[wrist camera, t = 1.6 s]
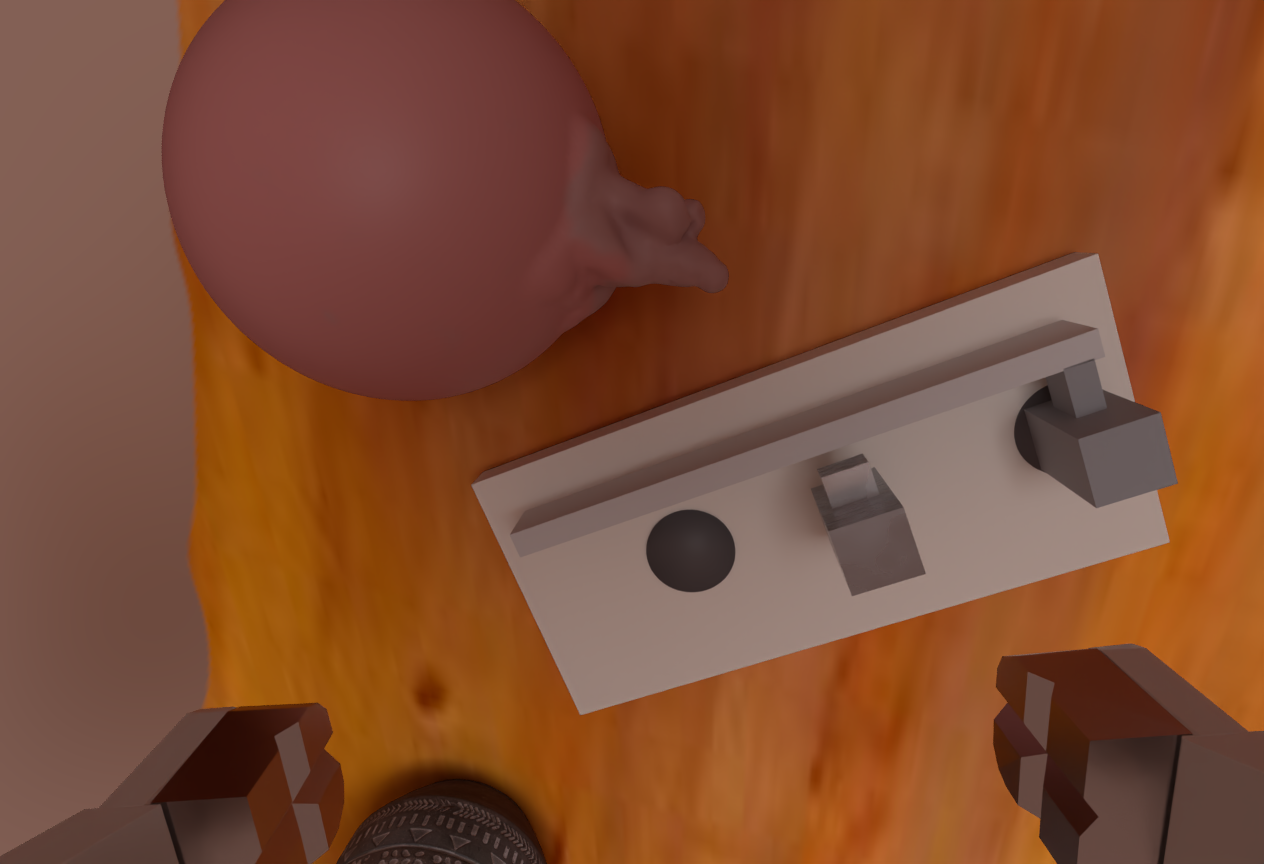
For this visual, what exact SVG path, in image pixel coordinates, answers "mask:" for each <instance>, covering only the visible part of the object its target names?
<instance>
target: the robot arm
mask: <svg viewBox="0 0 1264 864" xmlns="http://www.w3.org/2000/svg"><path fill="white" fill-rule="evenodd" d="M996 688H997V689H998V691H999V692H1000V693H1001V694H1002V696H1003V697H1004V698H1005V700H1006V701H1007V702H1008V703H1007V704H1006V705H1005V707H1004V708H1003V709H1002V710H1001V711H1000V713H999V714H998V715H997V716H996V718H995V719H994V734H993V745H994V750H995V755H996V759H997V764H998V768H999V771H1000V773H1001V776H1002V778H1003V780H1004V783H1005V785H1006V787H1007V789H1008V790H1009V792H1010V793H1011V795H1012V797H1013V798H1014V800H1015V801H1016V803H1017V804H1018V805H1019V806H1021V807H1022V808H1024V809H1025V810H1027V811H1029V812H1030V813H1032V814H1034V815H1035V816H1037V817H1039V818H1040V819H1041V820H1040V834H1039V837H1040V839H1041V840H1042V842H1043V843H1044V845H1045V846H1046V848H1047V849H1048V851H1049V852H1050V854H1051V855H1052V857H1053V858H1054V860H1055V861H1056V862H1057V864H1264V731H1254V732H1248V731H1247V730H1246V729H1245V728H1243V727H1242V726H1241V725H1240V724H1239V723H1237V722H1236V721H1235V720H1234V719H1232V718H1231V717H1230V716H1229V715H1227V714H1226V713H1225V712H1224V711H1223V710H1221V709H1220V708H1219V707H1218V706H1216V705H1215V704H1214V703H1213V702H1211V701H1210V700H1209V699H1208V698H1207V697H1205V696H1204V695H1203V694H1202V693H1200V692H1199V691H1198V690H1197V689H1195V688H1194V687H1193V686H1192V685H1190V684H1189V683H1188V682H1187V681H1186V680H1184V679H1183V678H1182V677H1181V676H1179V675H1178V674H1177V673H1176V672H1174V671H1173V670H1172V669H1171V668H1170V667H1168V666H1167V665H1166V664H1165V663H1163V662H1162V661H1161V660H1160V659H1158V658H1157V657H1156V656H1155V655H1154V654H1152V653H1151V652H1150V651H1149V650H1147V649H1146V648H1144V647H1141V646H1138V645H1135V644H1123V645H1114V646H1104V647H1094V648H1088V649H1082V650H1071V651H1059V652H1047V653H1036V654H1024V655H1012V656H1002V658H1001V661H1000V663H999V665H998V668H997V678H996ZM332 733H333V731H332V727H331V723H330V720H329V716H328V712H327V709H326V708H324V707H323V706H321V705H320V704H319V703H303V704H282V705H261V706H240V707H237V708H236V707H222V708H209V709H199V710H196V711H193V712H190V713H187V714H186V715H185V716H184V717H183V718H182V719H181V721H179V722H178V724H177V725H176V726H175V727H174V728H173V729H172V730H171V731H170V732H169V733H168V734H167V735H166V736H165V738H164V739H163V740H162V741H161V742H160V743H159V744H158V745H157V746H156V747H155V748H154V749H153V750H152V751H151V752H150V754H149V755H148V756H147V757H146V758H145V759H144V760H143V761H142V762H141V763H140V764H139V765H138V766H137V767H136V768H135V770H134V771H133V772H132V773H131V774H130V775H129V776H128V777H127V778H126V779H125V780H124V781H123V782H122V783H121V785H120V786H119V787H118V788H117V789H116V790H115V791H114V792H113V793H112V794H111V795H110V796H109V797H108V799H107V800H106V801H105V802H104V803H103V804H102V805H101V806H100V807H99V808H94V809H84V810H82V811H80V812H79V813H77V814H75V815H73V816H71V817H70V818H68V819H66V820H64V821H62V822H61V823H59V824H57V825H55V826H53V827H52V828H50V829H48V830H46V831H45V832H43V833H41V834H39V835H37V836H36V837H34V838H32V839H30V840H29V841H27V842H25V843H23V844H21V845H19V846H18V847H16V848H14V849H12V850H11V851H9V852H7V853H5V854H3V855H2V856H0V864H311V863H313V862H314V861H315V860H316V859H318V858H319V857H320V856H321V855H323V854H324V853H325V852H326V851H328V850H329V848H330V846H331V844H332V842H333V839H334V837H335V835H336V833H337V831H338V829H339V825H340V820H341V815H342V810H343V805H344V780H343V775H342V771H341V766H340V763H339V762H338V761H337V760H335V759H334V758H333V757H332V756H331V755H330V754H329V753H328V752H327V751H326V750H325V749H324V748H325V746H326V744H327V742H328V741H329V739H330V737H331V735H332Z"/></svg>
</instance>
